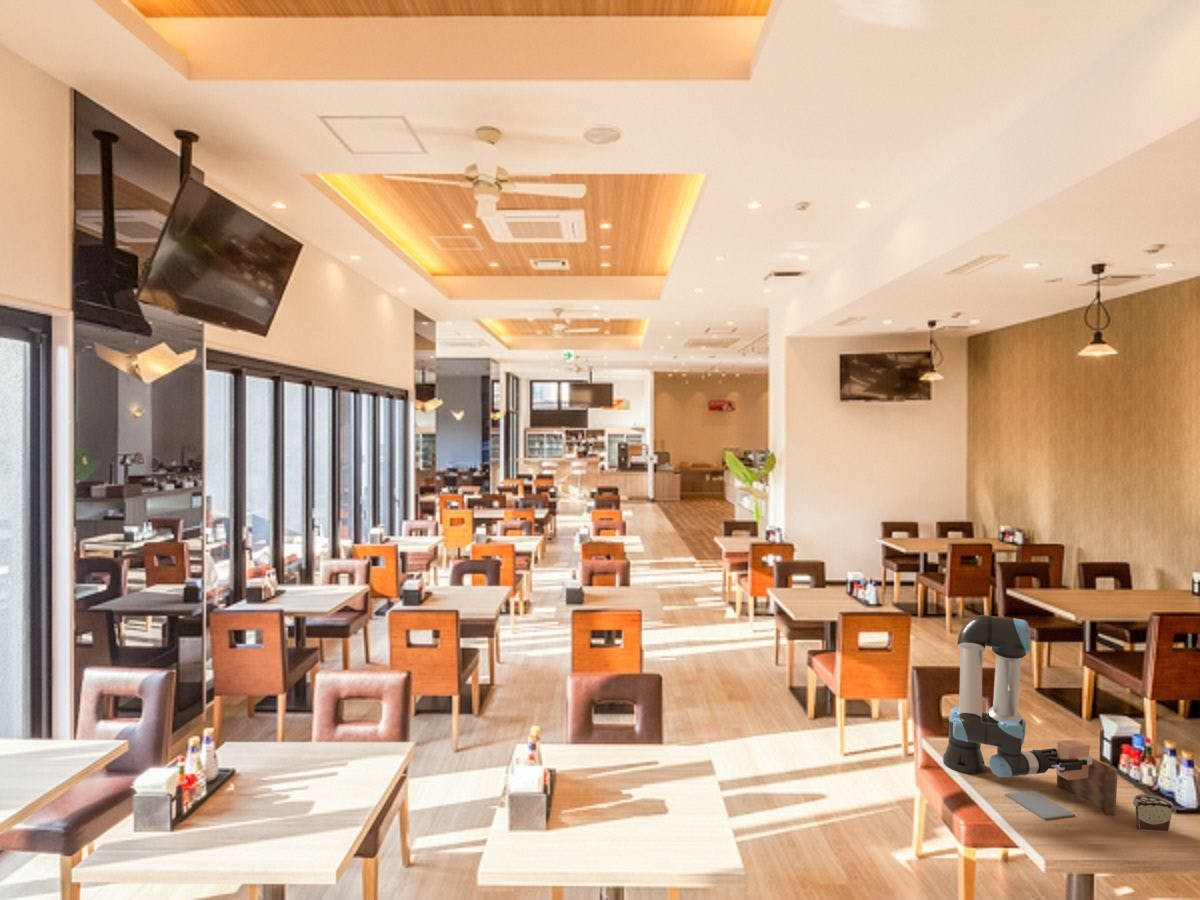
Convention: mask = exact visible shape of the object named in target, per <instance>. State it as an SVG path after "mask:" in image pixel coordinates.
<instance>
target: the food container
mask: <svg viewBox="0 0 1200 900" xmlns="http://www.w3.org/2000/svg"><path fill="white" fill-rule="evenodd" d="M1132 805H1133V806H1135V815H1136V816H1135V820H1136V828H1137V830H1138V831H1147V832H1158V833H1169V832H1170V826H1171V819H1172V815H1173V814H1172V813H1173V810H1175V805H1174V803H1173V802H1172V801H1170V800H1168V799H1166V798H1163V797H1160V796H1157V795H1153V794H1143V793H1142V794H1136V795H1135V796H1134V798H1133V801H1132Z"/></svg>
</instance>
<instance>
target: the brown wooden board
mask: <svg viewBox="0 0 1200 900" xmlns="http://www.w3.org/2000/svg"><path fill="white" fill-rule="evenodd" d="M1118 770H1119V769H1117V768H1114V767H1112V766H1111V765H1108V764H1107V763H1105V762H1102V761H1100V760H1098V759H1097V758H1095V757H1093V761H1092V764H1091V765H1089V770H1088V778H1083V779H1074V780H1066V779H1065V778H1063V777H1061V776H1059V775H1057V774H1056V788H1059V789H1064V788H1065V789H1066V790H1068V791H1071V792H1072V793H1073V794H1076V795H1077V796H1078V797H1079V796H1080V797H1081V798H1082V799H1084V800H1086V801H1088V802H1090V803H1091V804H1093V805H1095V806H1097V807H1099V808H1100V809H1101V810H1102V809H1103V810H1104V815H1106V816H1108V817H1109V816H1115V815H1116V813H1117V793H1118V791H1117V790H1118V774H1119V773H1118Z"/></svg>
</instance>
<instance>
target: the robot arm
mask: <svg viewBox="0 0 1200 900" xmlns="http://www.w3.org/2000/svg"><path fill="white" fill-rule="evenodd" d="M1029 627H1030V626H1029V623H1028V621H1027V620H1025V619H1020V618H1015V617H1013V618H1012V617H1004V616H1003V617H1002V616H994V615H989V614H988V615H987V614H980V615H976V616H974V617H972V618H970V619H969V620H967V622H965V623H964V625H963V626H962V628H961V630H960V631H959V635H958V637H957V649H958V650H959V651H960V652H959V653H960V656H959V658H960V659H959V660H960V662H959V699H958V700H959V703H958V705H957V706H954V707H952V708H951V709H950V711H949V718H948V721H949V724H948V725H949V727H948V743H947V746H946V749H945V752H944V753H943V755H942V758H943V759H942V761H943V762H942V763H943V764H944V765H945V766H946V767H947V768H949V769H951V770H954V771H957V772H959V773H967V774H980V773H983V772H985V770H986V768H985V767H986V764H985V763H986V762H985V760H984V757H983V753H982V751H981V750H982V749H981V745H982V744H983V745H987V746H992V747H997V748H996V750H997V751H996V754H993V755H991V756H990V757H989V761H988V764H989V768H990V771H991V772H992V774H994V775H995V776H996V777H998V778H1011V777H1019V776H1029V775H1034V774H1035V775H1036V774H1045V773H1046V772H1047V771H1048V770H1055V769H1056V770H1057V769H1059V772H1062V773H1063V772H1065V771H1073V770H1082V765H1091V764H1092V761H1093V758H1094V757H1093V756H1091V755H1089V756H1088V757H1079V758H1076V759H1060V758H1058V757H1057V748H1055V747H1054V748H1044V749H1032V750H1031V751H1022V746H1023V744H1024V741H1025V737H1026V729H1027V726H1026V725H1027V723H1026V720H1025V719H1024V718H1023V716H1022V714H1021V713H1020V712H1019V697H1020V684H1021V683H1020V681H1021V667H1022V659H1024V658H1025V657H1026V656H1027V653H1028V652H1032V644H1031V634H1030V628H1029ZM986 647H990V648H991V651H992V653H993V654H994V655H995V669H994V682H993V683H994V684H993V685H994V686H993V700H992V706H991V707H989V709H988V712H987V713H986V712H983V654H984V653H985V652H986Z"/></svg>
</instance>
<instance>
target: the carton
mask: <svg viewBox="0 0 1200 900" xmlns="http://www.w3.org/2000/svg"><path fill="white" fill-rule="evenodd" d="M1056 749H1057V757H1058V758H1060V759H1076V758H1079V757H1088V756H1090V744H1088V743H1086V742H1083V741H1082V740H1080V739H1071V740H1062V741H1061V740H1060V741H1057V747H1056ZM1088 770H1089V765H1082V770H1073V771H1065V772H1063V773H1062V772H1059V769H1057V768H1056V771H1055V772H1056V773H1055V774H1056V776H1057V775H1059V776H1061V777H1063V778H1065V779H1066V780H1074V779H1083V778H1088Z"/></svg>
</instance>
